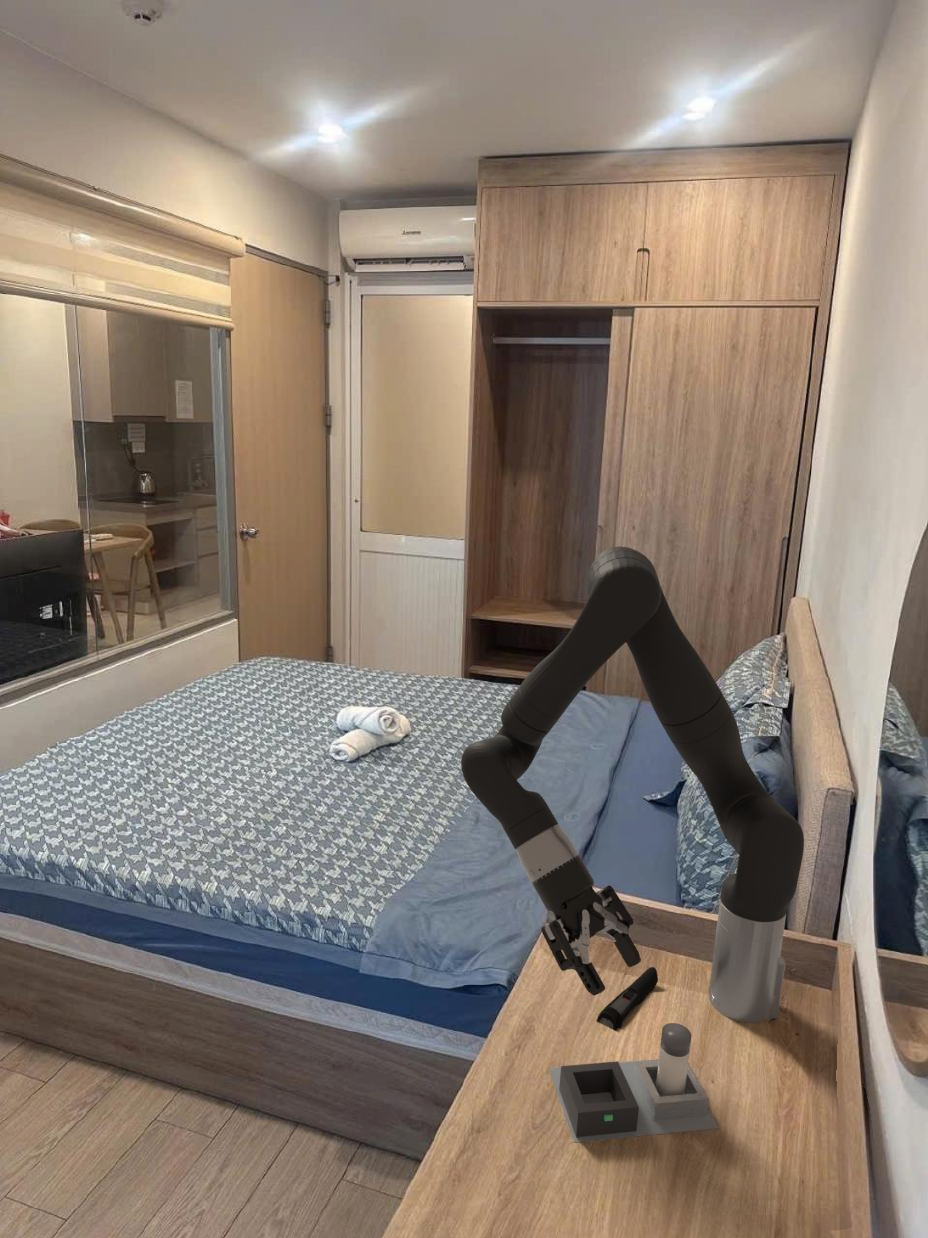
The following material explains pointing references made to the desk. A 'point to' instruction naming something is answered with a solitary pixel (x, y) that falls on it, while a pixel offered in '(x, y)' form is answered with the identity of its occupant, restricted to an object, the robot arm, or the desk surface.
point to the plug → (673, 1060)
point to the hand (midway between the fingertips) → (618, 978)
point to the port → (598, 1115)
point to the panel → (644, 1117)
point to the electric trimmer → (628, 1000)
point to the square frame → (670, 1105)
